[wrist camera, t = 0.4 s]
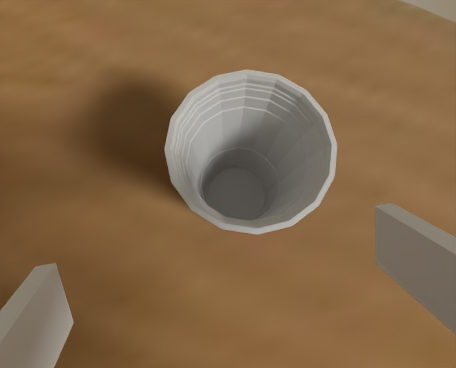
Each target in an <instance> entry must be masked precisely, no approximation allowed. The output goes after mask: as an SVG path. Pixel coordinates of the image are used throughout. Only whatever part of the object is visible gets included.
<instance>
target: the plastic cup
mask: <svg viewBox="0 0 456 368" xmlns="http://www.w3.org/2000/svg"><path fill="white" fill-rule="evenodd" d="M164 151H165V156H166V160H167V165H168V169H169V174H170V179H171V183H172V184H173V185H174V187H175V188H176V190H177V191H178V192H179V194H180V195H181V197H182V198H183V199H184V201H185V202H186V203H187V205H188V206H189V208H190V209H191V210H192V211H193V212H195V213H197V214H198V215H200V216H201V217H203V218H205V219H206V220H208V221H210V222H211V223H213V224H215V225H216V226H218V227H219V228H221V229H225V230H231V231H238V232H244V233H251V234H257V235H258V234H262V233H266V232H270V231H274V230H278V229H282V228H286V227H290V226H293V225H294V224H295V223H297V222H298V221H299V220H301V219H302V218H303V217H304V216H306V215H307V214H308V213H310V212H311V211H312V210H314V209H315V208H316V207H318V206H319V204H320V203H321V201H322V199H323V197H324V195H325V193H326V192H327V190H328V188H329V186H330V184H331V182H332V181H333V179H334V177H335V166H336V154H337V143H336V140H335V137H334V134H333V131H332V128H331V125H330V122H329V119H328V116H327V114H326V113H325V111H324V110H323V109H322V108H321V107H320V106H319V104H318V103H317V102H316V101H315V100H314V98H313V97H312V96H311V95H310V94H309V93H308V91H307V90H305V89H303V88H302V87H300V86H298V85H296V84H294V83H293V82H291V81H289V80H287V79H285V78H284V77H282V76H280V75H278V74H272V73H265V72H259V71H253V70H242V71H237V72H232V73H227V74H222V75H217V76H214V77H213V78H211V79H210V80H208V81H207V82H205V83H203V84H202V85H200V86H199V87H197V88H195V89H194V90H192V91H191V92H189V93H188V95H187V96H186V98H185V99H184V100H183V102H182V103H181V105H180V106H179V107H178V109H177V110H176V112H175V113H174V115H173V116H172V117H171V120H170V125H169V129H168V134H167V139H166V144H165V149H164Z"/></svg>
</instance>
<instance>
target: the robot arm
mask: <svg viewBox="0 0 456 368" xmlns="http://www.w3.org/2000/svg"><path fill="white" fill-rule="evenodd" d="M375 256H376V265H378V266H379V267H380V268H381V269H382V270H383V271H384V272H385V273H387V274H388V275H389V276H390V277H391V278H392V279H393V280H394V281H396V282H397V283H398V284H399V285H400V286H401V287H402V288H403V289H405V290H406V291H407V292H408V293H409V294H410V295H411V296H412V297H414V298H415V299H416V300H417V301H418V302H419V303H420V304H421V305H423V306H424V307H425V308H426V309H427V310H428V311H429V312H430V313H432V314H433V315H434V316H435V317H436V318H437V319H438V320H439V321H441V322H442V323H443V324H444V325H445V326H446V327H447V328H448V329H450V330H451V331H452V332H453V333H454V334H455V335H456V237H454V236H452V235H450V234H449V233H447V232H445V231H443V230H441V229H439V228H437V227H436V226H434V225H432V224H430V223H428V222H426V221H424V220H423V219H421V218H419V217H417V216H415V215H413V214H411V213H410V212H408V211H406V210H404V209H402V208H400V207H398V206H397V205H395V204H393V203H389V204H383V205H378V206H375ZM73 323H74V322H73V318H72V315H71V312H70V308H69V305H68V302H67V298H66V295H65V292H64V288H63V285H62V282H61V278H60V275H59V272H58V268H57V265H56V263H52V264H47V265H41V266H36V267H35V268H34V269H33V270H32V271H31V273H30V274H29V275H28V276H27V278H26V279H25V280H24V281H23V283H22V284H21V285H20V286H19V288H18V289H17V290H16V292H15V293H14V294H13V295H12V297H11V298H10V299H9V300H8V302H7V303H6V304H5V305H4V307H3V308H2V309H1V310H0V368H54V367H55V364H56V362H57V360H58V357H59V355H60V353H61V351H62V348H63V346H64V344H65V342H66V339H67V337H68V335H69V332H70V330H71V328H72V326H73Z"/></svg>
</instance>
